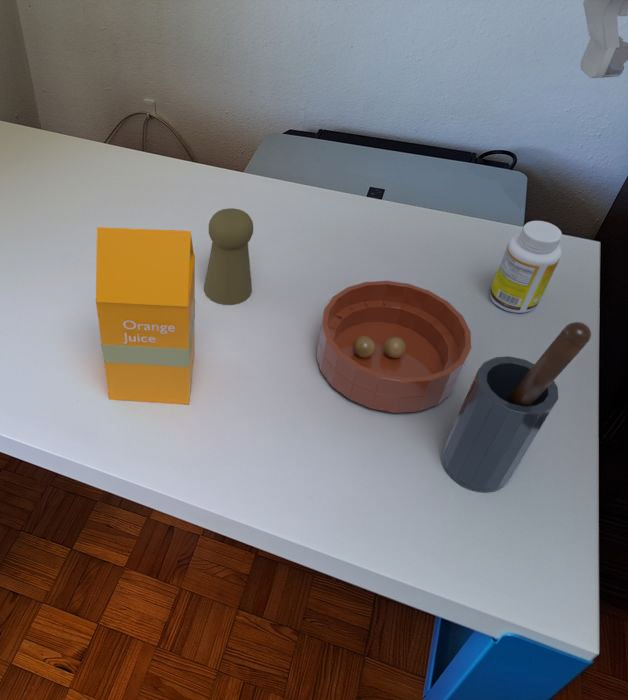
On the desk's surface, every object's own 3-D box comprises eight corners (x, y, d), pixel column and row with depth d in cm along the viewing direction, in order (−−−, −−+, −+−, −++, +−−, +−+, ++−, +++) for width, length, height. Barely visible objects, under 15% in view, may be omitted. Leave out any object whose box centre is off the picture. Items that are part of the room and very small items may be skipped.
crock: (495, 436, 69) (538, 354, 60) (521, 490, 65) (572, 410, 56) (432, 439, 69) (466, 358, 60) (454, 494, 65) (494, 415, 56)
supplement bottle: (529, 285, 85) (561, 216, 77) (542, 316, 81) (577, 246, 73) (482, 283, 85) (510, 215, 78) (493, 314, 81) (523, 245, 74)
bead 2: (404, 332, 75) (391, 333, 77) (388, 342, 74) (375, 343, 76) (414, 351, 75) (400, 351, 77) (398, 361, 74) (384, 362, 77)
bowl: (430, 312, 82) (442, 277, 78) (477, 411, 71) (494, 376, 67) (304, 319, 82) (309, 284, 78) (332, 420, 71) (340, 385, 67)
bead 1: (378, 341, 77) (382, 346, 74) (365, 359, 77) (368, 364, 75) (360, 330, 77) (363, 334, 74) (347, 347, 77) (350, 352, 75)
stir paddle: (485, 445, 67) (597, 316, 49) (491, 462, 66) (607, 337, 48) (457, 446, 67) (558, 317, 49) (462, 463, 66) (567, 338, 48)
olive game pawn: (217, 267, 89) (220, 195, 81) (260, 282, 87) (266, 209, 79) (195, 295, 85) (195, 222, 77) (238, 311, 83) (243, 237, 75)
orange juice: (119, 348, 79) (103, 202, 65) (195, 353, 78) (195, 206, 64) (108, 400, 74) (87, 254, 59) (189, 406, 73) (189, 258, 59)
